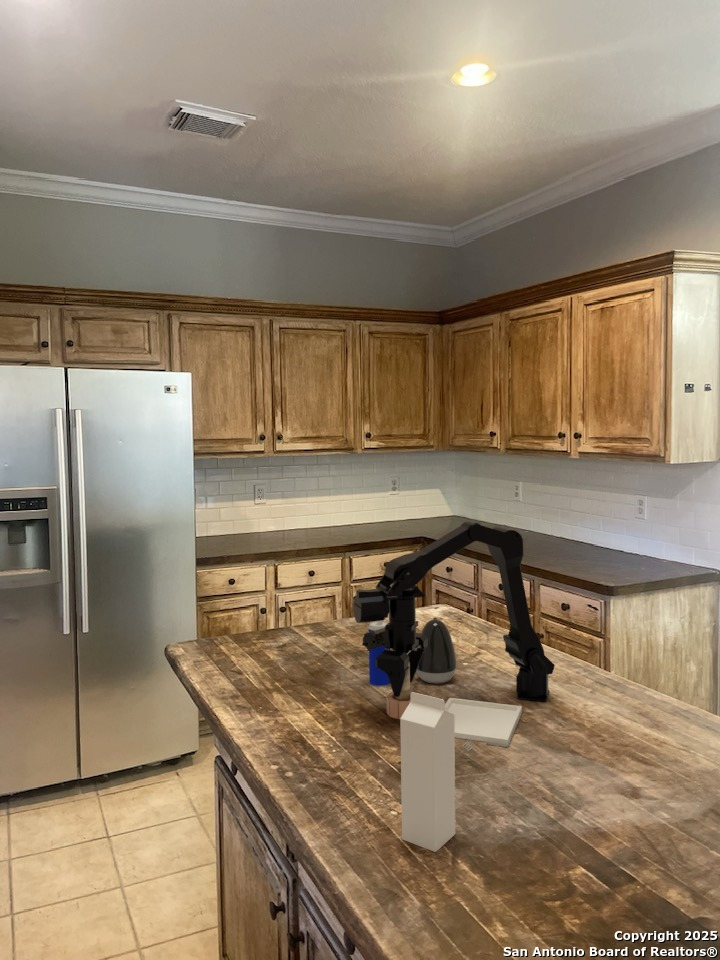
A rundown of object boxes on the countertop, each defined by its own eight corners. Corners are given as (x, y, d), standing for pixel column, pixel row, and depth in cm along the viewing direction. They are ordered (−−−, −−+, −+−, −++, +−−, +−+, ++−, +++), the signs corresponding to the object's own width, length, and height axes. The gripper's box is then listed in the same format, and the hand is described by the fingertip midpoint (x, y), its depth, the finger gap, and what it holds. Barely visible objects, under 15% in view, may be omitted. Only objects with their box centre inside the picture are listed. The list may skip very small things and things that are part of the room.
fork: (395, 762, 137) (395, 752, 137) (470, 747, 143) (470, 737, 143) (401, 768, 135) (400, 758, 134) (477, 753, 140) (477, 743, 140)
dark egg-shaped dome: (456, 673, 184) (455, 614, 183) (457, 688, 174) (456, 625, 173) (415, 673, 185) (414, 613, 184) (414, 687, 175) (413, 625, 174)
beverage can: (388, 688, 175) (387, 627, 174) (367, 687, 176) (366, 626, 175) (392, 681, 180) (391, 621, 179) (371, 680, 181) (370, 620, 180)
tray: (521, 713, 159) (521, 706, 158) (507, 747, 142) (507, 739, 142) (449, 704, 164) (449, 697, 164) (427, 736, 148) (427, 728, 147)
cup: (423, 710, 161) (423, 692, 161) (414, 723, 154) (413, 704, 154) (393, 706, 163) (393, 689, 163) (382, 719, 157) (382, 700, 156)
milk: (422, 822, 116) (420, 685, 114) (456, 834, 112) (455, 693, 111) (401, 840, 111) (399, 697, 109) (435, 853, 107) (434, 705, 106)
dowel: (412, 710, 160) (411, 661, 159) (408, 715, 157) (407, 665, 156) (399, 709, 161) (398, 659, 160) (394, 714, 158) (393, 664, 157)
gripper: (381, 605, 169) (382, 671, 170) (351, 626, 151) (352, 700, 153) (427, 608, 165) (428, 676, 166) (402, 630, 147) (403, 706, 149)
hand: (403, 689), depth 158 cm, fingers open, 9 cm apart
